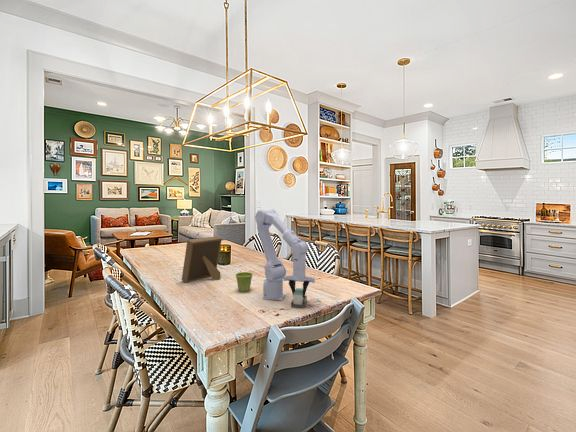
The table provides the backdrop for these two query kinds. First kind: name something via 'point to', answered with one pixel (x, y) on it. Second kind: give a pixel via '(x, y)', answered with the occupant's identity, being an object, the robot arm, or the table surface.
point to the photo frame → (201, 259)
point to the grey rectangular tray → (299, 305)
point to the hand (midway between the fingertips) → (299, 296)
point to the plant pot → (244, 281)
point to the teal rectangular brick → (298, 296)
